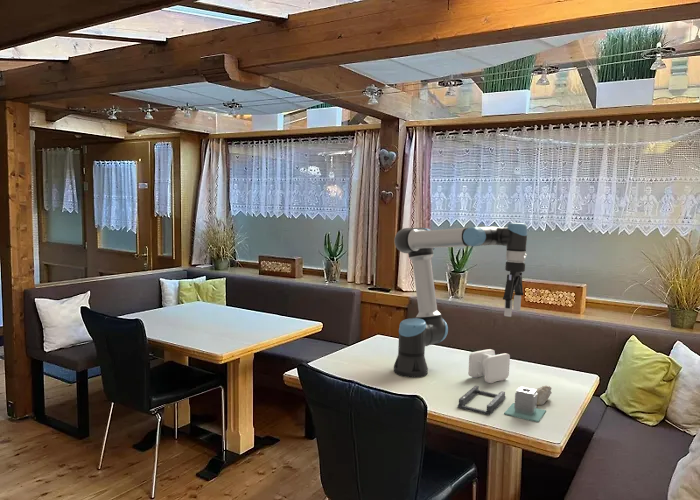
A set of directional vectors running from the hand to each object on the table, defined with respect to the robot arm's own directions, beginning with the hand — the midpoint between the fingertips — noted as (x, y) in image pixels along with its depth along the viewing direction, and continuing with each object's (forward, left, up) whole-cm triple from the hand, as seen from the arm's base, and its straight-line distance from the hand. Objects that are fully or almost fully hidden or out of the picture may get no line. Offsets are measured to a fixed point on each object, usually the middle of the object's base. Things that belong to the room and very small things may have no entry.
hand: (512, 313), depth 214 cm
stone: (+13, -6, -32) cm, 35 cm away
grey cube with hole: (+12, -21, -31) cm, 39 cm away
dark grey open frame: (-4, -21, -32) cm, 38 cm away
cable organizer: (-11, +9, -32) cm, 35 cm away
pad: (+12, -21, -32) cm, 40 cm away
